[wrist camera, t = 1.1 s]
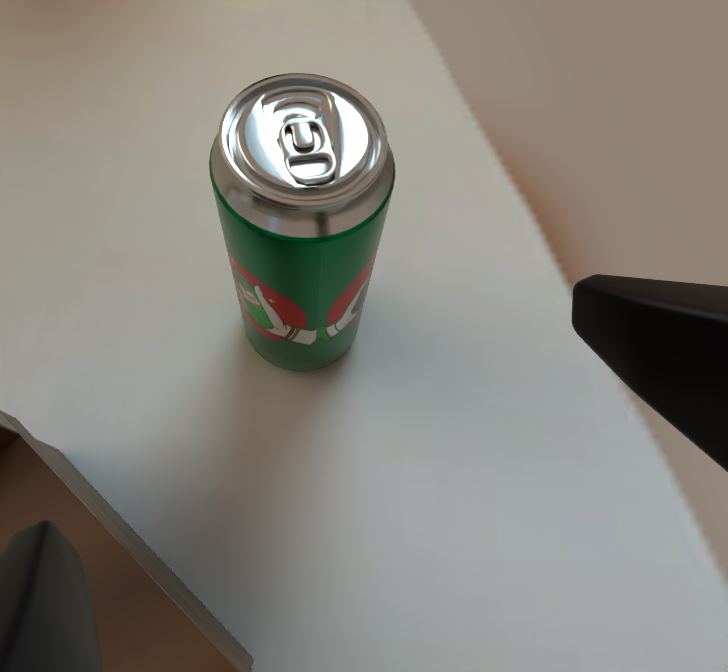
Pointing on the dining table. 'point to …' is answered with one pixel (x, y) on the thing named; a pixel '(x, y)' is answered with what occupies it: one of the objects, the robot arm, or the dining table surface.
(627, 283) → the robot arm
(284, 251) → the soda can
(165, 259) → the dining table surface
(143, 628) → the low shelf
